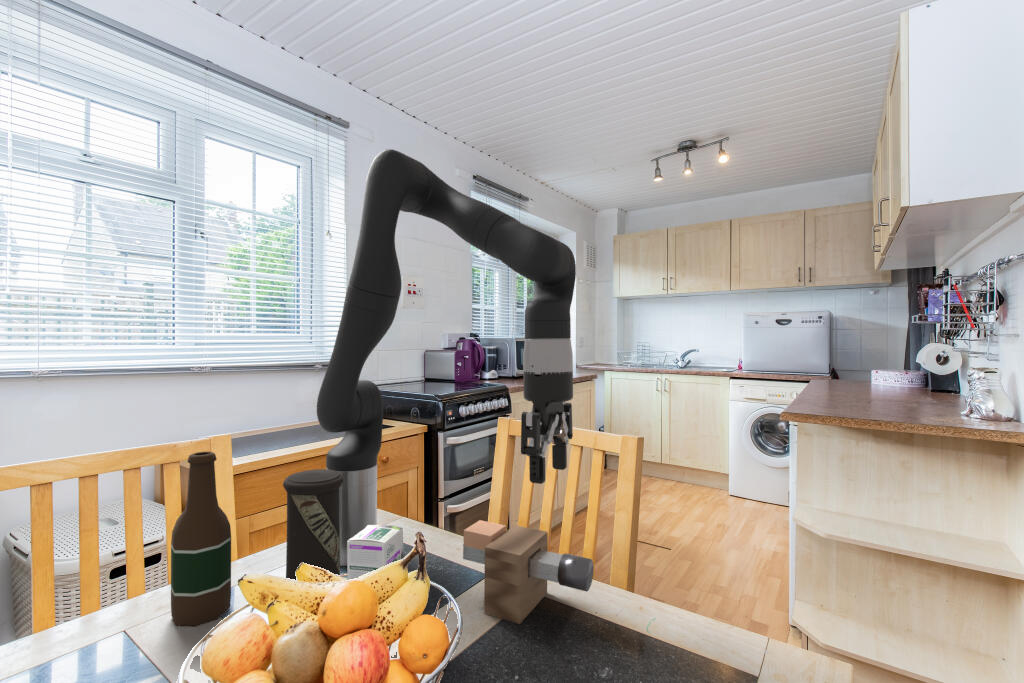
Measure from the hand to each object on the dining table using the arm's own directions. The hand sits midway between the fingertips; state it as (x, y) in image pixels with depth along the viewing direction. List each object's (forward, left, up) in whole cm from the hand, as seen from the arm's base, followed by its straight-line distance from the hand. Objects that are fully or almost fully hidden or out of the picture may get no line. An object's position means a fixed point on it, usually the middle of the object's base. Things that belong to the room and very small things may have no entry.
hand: (549, 475), depth 75 cm
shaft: (-4, 0, -16) cm, 16 cm away
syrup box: (-19, -17, -21) cm, 33 cm away
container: (-35, -14, -21) cm, 43 cm away
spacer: (-11, 0, -13) cm, 17 cm away
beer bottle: (-46, -25, -21) cm, 56 cm away
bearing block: (-5, 0, -21) cm, 21 cm away
